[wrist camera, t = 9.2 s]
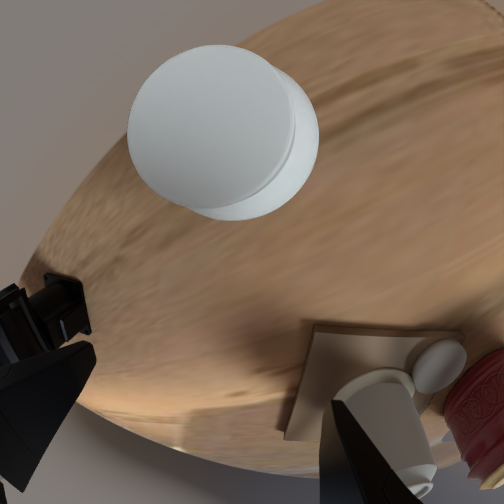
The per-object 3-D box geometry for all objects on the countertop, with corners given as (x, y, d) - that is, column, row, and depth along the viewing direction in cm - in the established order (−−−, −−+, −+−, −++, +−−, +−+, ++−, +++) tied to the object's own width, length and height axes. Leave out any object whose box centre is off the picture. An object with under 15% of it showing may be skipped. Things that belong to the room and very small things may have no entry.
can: (328, 425, 23) (333, 522, 12) (349, 376, 21) (369, 494, 10) (391, 422, 22) (411, 508, 11) (418, 374, 20) (459, 471, 9)
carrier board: (284, 432, 26) (282, 450, 24) (314, 324, 22) (316, 343, 19) (406, 429, 25) (410, 444, 22) (463, 330, 20) (475, 344, 18)
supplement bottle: (210, 111, 18) (105, 46, 6) (301, 106, 17) (322, 8, 5) (214, 199, 20) (109, 247, 8) (305, 197, 19) (337, 245, 7)
